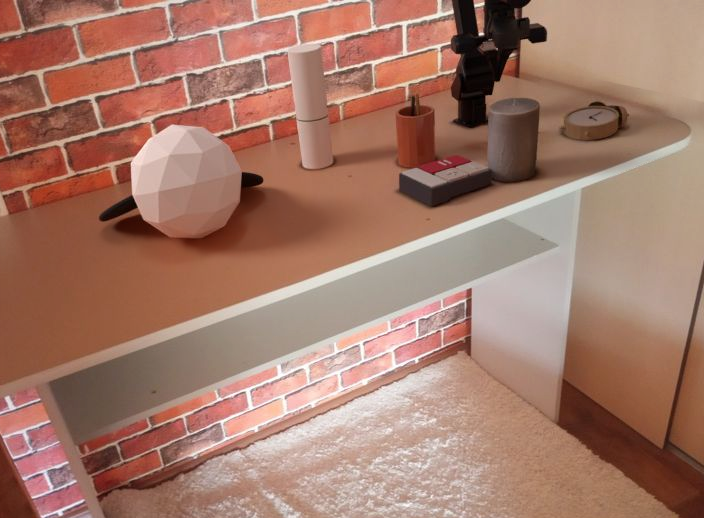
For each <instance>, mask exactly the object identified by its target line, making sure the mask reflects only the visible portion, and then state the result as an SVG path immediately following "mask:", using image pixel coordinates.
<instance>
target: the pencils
mask: <svg viewBox="0 0 704 518" xmlns="http://www.w3.org/2000/svg"><path fill="white" fill-rule="evenodd" d="M410 98H411V99H410V100H411V101H410V106H411V112H410V116H414V109H415V105H416V110H417V116H420V115H421V111H420V105H421V103H420V94H419V92H418V91H415V92H414V94H413V95H411V97H410Z"/></svg>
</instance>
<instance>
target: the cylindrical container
mask: <svg viewBox="0 0 704 518" xmlns="http://www.w3.org/2000/svg"><path fill="white" fill-rule="evenodd" d="M286 51H287V60H288V68H289V74H290V81H291V91H292V97H293V102H294V103H293V104H294V112H295V120H296V126H297V127H296V128H297V134H298V141H299V150H300V156H301V157H300V158H301V165H302V167H303V168H304V169H307V170H320V169H324V168H328V167H329V166H331V165H332V164H333V163H334V153H333V146H332V145H333V144H332V135H331V125H330V117H329V116H330V115H329V108H328V97H327V89H326V79H325V71H324V69H325V68H324V60H323V50H322V45H321V44H319V43H303V44H297V45H293V46H291V47H288V48H287V50H286Z"/></svg>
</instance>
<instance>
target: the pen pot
mask: <svg viewBox="0 0 704 518" xmlns="http://www.w3.org/2000/svg"><path fill="white" fill-rule="evenodd" d="M420 111H421V115H420V116H417V110H416V104H415V109H414V116H410V112H411V105H407V106H402V107H400V108H399V109H397V110H395V128H396V130H395V131H396V149H397V162H398V164H399V165H400V167H404V168H408V169H409V168H410V169H413V168H419V166H421V165H424V164H427V163H431V162H434V161H436V120H435V108H434V107H433V106H431V105H428V104H420Z"/></svg>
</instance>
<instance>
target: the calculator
mask: <svg viewBox="0 0 704 518" xmlns="http://www.w3.org/2000/svg"><path fill="white" fill-rule="evenodd" d="M492 179H493V178H492V170H490V169H489V167H487V165H484V164H482V163H479V162H476V161H472V160H471V159H469V158H466V157H463V156H461V155H458V154H454V155H451V156H448V157H445V158H441V159H438V160H435V161H434V162H431V163H427V164H424V165H421V166H419V168H410V169H407V170H404V171H401V172H400V173H398V191H400V192H402V193H403V194H406V195H408V196H410V197H411V198H414V199H416V200H417V201H419V202H422V203H424V204H426V205H427V206H429V207H434V206H437V205H442V204H443V203H446V202H448V201H449V200H450V199H451V198H453V197H456V196H459V195H463V194H466V193H469V192H472V191H476V190H479V189H481V188H485V187H488V186H491V185H492Z"/></svg>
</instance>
